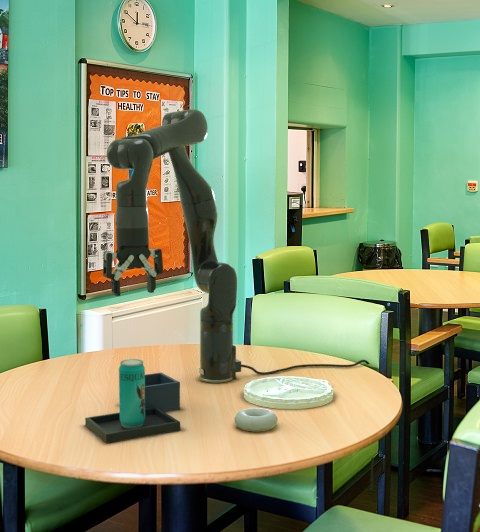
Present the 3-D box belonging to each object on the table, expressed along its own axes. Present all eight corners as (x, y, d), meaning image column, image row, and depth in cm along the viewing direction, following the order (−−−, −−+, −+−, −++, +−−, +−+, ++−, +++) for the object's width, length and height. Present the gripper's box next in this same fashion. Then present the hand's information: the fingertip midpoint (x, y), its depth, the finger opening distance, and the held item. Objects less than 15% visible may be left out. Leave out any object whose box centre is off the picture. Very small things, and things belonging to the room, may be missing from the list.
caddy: (161, 398, 210) (161, 372, 209) (180, 409, 201) (180, 382, 200) (121, 405, 204) (120, 377, 203) (138, 416, 195) (138, 388, 194)
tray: (156, 414, 196) (156, 406, 196) (180, 430, 185) (180, 421, 185) (85, 426, 187) (85, 417, 187) (106, 443, 176) (106, 434, 175)
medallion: (224, 396, 213) (224, 387, 213) (293, 377, 233) (293, 369, 232) (292, 415, 197) (292, 405, 197) (359, 393, 217) (359, 384, 217)
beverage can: (139, 430, 183) (139, 365, 181) (115, 428, 184) (114, 363, 182) (148, 422, 188) (148, 359, 187) (125, 421, 190) (124, 358, 188)
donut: (275, 420, 194) (233, 420, 193) (275, 406, 193) (233, 405, 192) (279, 433, 184) (234, 433, 183) (279, 419, 183) (235, 418, 182)
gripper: (109, 228, 183) (111, 299, 185) (167, 225, 191) (168, 293, 193) (97, 226, 189) (99, 294, 192) (153, 222, 197) (155, 289, 199)
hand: (134, 294), depth 192 cm, fingers open, 8 cm apart
